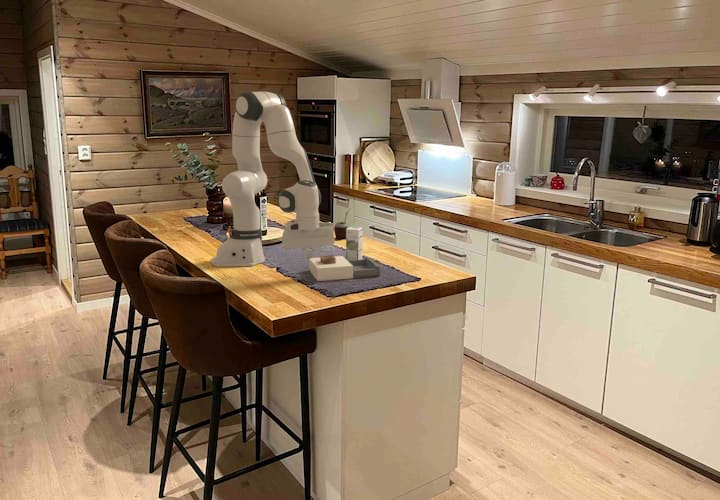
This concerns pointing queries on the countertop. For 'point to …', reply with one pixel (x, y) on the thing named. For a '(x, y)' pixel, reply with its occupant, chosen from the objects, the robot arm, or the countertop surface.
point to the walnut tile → (328, 259)
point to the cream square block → (331, 269)
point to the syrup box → (354, 243)
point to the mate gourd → (341, 229)
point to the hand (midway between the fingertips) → (308, 258)
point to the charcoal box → (364, 268)
